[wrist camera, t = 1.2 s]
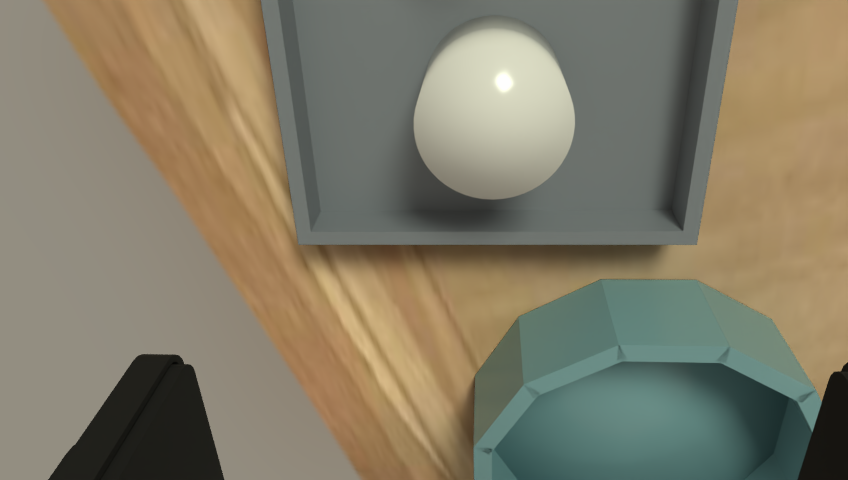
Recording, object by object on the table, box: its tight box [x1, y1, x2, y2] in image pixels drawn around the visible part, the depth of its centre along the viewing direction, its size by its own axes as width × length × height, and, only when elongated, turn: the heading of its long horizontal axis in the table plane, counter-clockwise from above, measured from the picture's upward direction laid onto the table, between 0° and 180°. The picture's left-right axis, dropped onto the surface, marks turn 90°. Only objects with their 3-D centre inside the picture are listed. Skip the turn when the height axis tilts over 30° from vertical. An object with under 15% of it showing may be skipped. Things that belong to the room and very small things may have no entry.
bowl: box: [473, 279, 822, 480], centre depth 32 cm, size 16×16×5 cm
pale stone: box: [414, 15, 575, 200], centre depth 24 cm, size 5×5×5 cm
